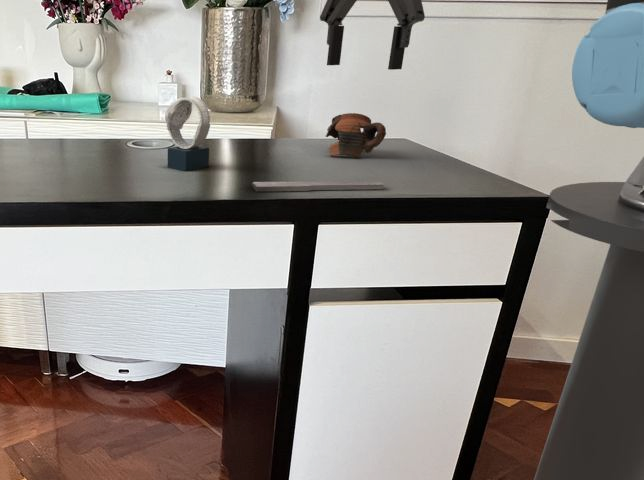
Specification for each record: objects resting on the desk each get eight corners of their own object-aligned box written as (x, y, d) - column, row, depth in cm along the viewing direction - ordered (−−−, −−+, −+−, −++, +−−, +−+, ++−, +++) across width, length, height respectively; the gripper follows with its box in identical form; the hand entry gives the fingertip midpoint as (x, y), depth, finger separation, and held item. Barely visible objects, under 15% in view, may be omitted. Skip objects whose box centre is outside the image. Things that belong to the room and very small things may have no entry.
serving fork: (377, 186, 95) (378, 180, 95) (384, 190, 92) (385, 184, 92) (252, 187, 94) (252, 181, 93) (256, 191, 91) (256, 186, 91)
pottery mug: (313, 157, 118) (318, 115, 119) (337, 174, 125) (341, 134, 126) (374, 147, 110) (379, 101, 111) (396, 166, 117) (400, 123, 118)
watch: (182, 161, 112) (183, 94, 107) (216, 168, 106) (218, 98, 102) (159, 165, 108) (158, 96, 103) (192, 172, 103) (194, 100, 98)
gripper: (308, -71, 110) (296, 64, 119) (435, -88, 92) (409, 72, 102) (337, -67, 114) (323, 63, 123) (464, -83, 96) (437, 70, 106)
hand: (362, 67), depth 112 cm, fingers open, 13 cm apart
